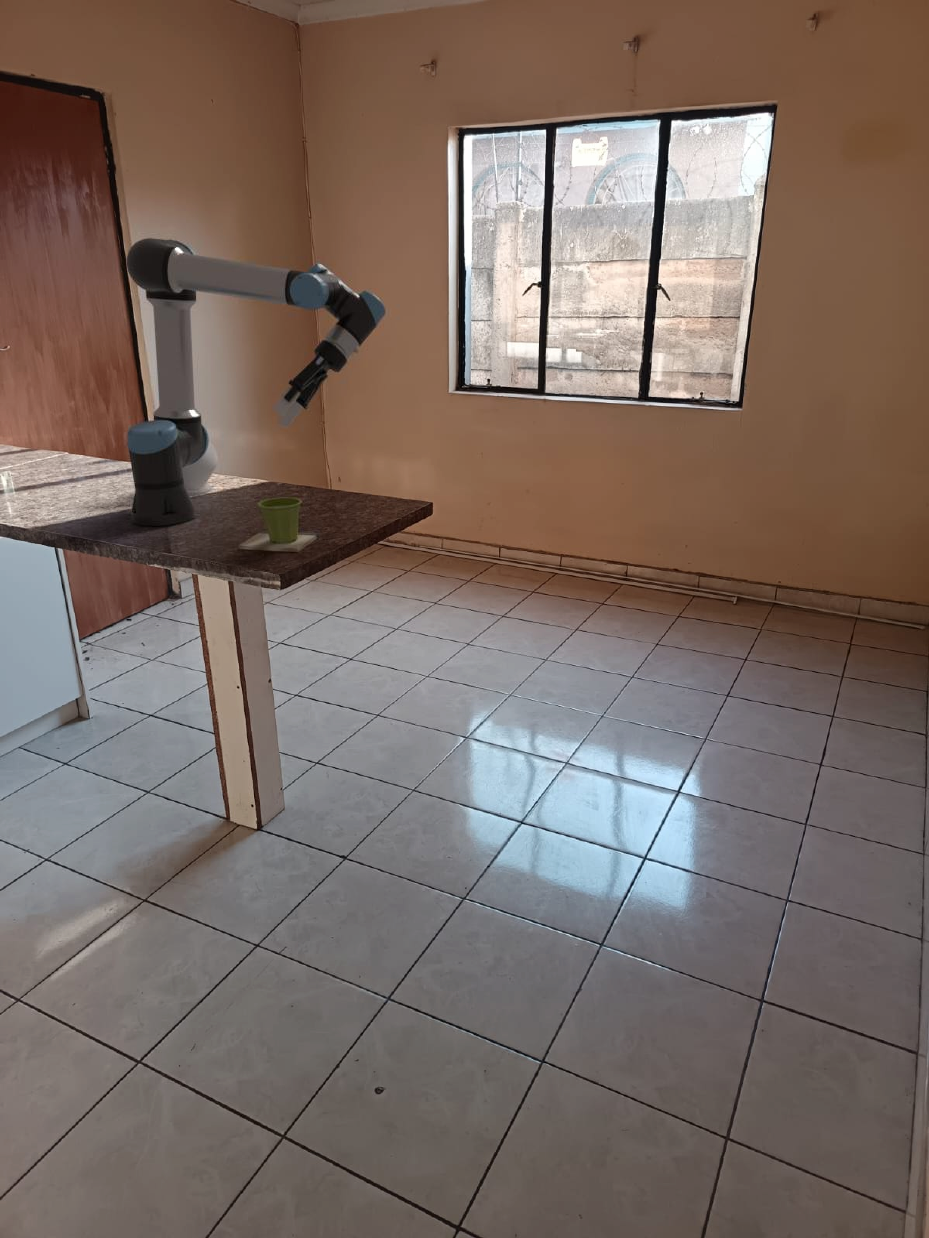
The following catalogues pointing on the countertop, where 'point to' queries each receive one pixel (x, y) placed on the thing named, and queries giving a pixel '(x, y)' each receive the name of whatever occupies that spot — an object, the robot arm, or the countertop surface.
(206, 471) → the decorative vase
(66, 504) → the countertop surface
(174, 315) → the robot arm
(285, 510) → the plant pot
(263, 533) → the board
